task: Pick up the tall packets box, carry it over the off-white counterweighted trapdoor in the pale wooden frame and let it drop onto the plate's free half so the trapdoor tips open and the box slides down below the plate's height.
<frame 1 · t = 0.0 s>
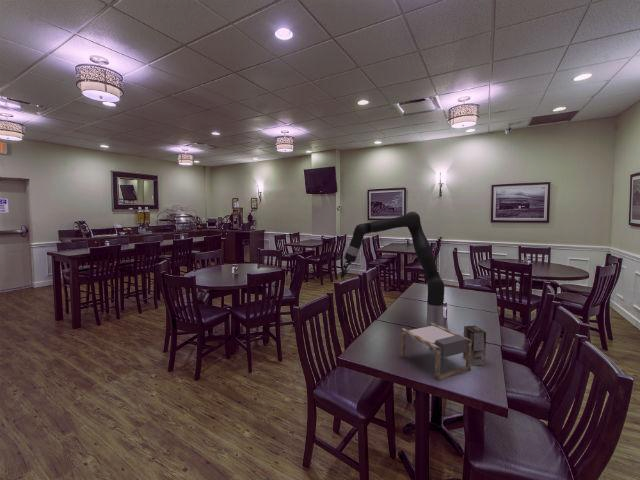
hand: (343, 276, 198), 31 cm above the table, tool tilted 20°, fingers open, 8 cm apart
trapdoor frame: (431, 361, 148), on the table
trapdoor: (437, 338, 144), point 13 cm above the table, hinge at 0.0°
coffee box: (473, 361, 149), on the table
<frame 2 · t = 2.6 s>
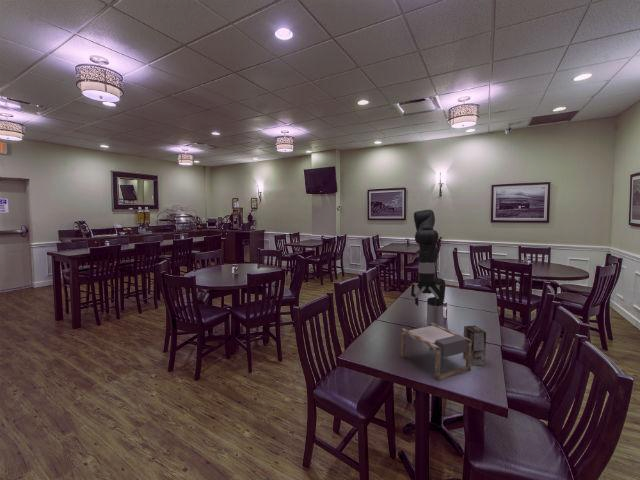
hand: (426, 306, 144), 28 cm above the table, tool pointing down, fingers open, 8 cm apart
nothing on the table moved.
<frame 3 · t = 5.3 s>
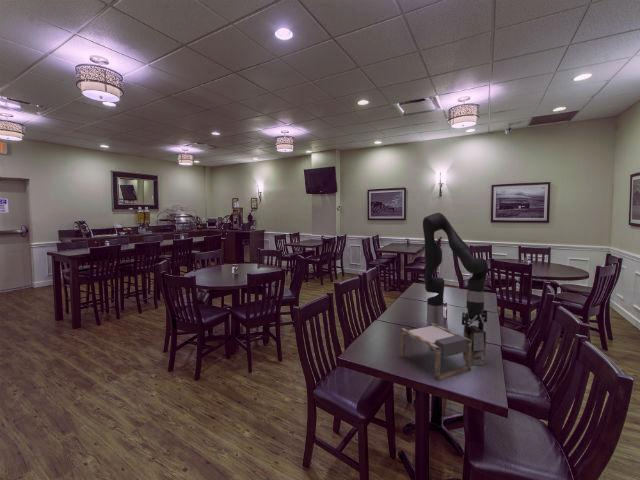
hand: (474, 332, 147), 14 cm above the table, tool pointing down, fingers open, 8 cm apart
nothing on the table moved.
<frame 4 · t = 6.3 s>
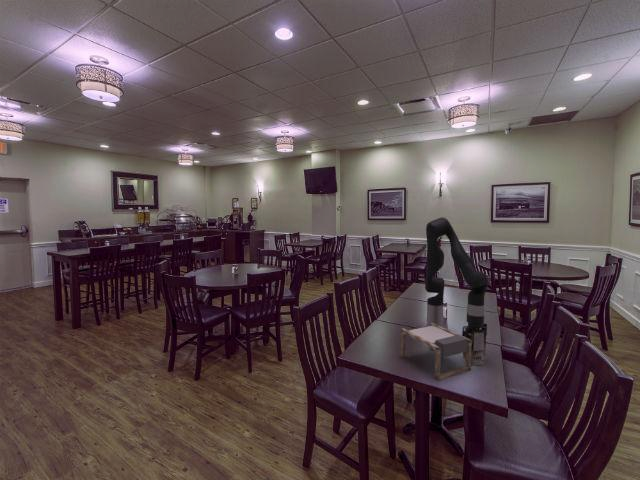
hand: (474, 345, 148), 8 cm above the table, tool pointing down, fingers closed on coffee box, 7 cm apart
coffee box: (473, 361, 149), on the table, touching gripper
everything else where it was.
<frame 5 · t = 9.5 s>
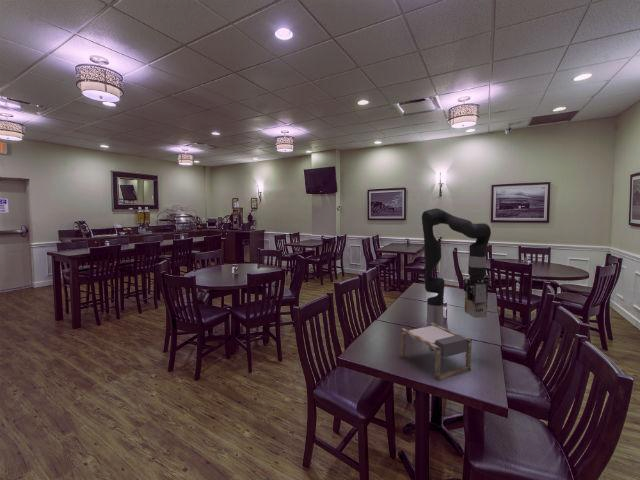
hand: (475, 299, 146), 31 cm above the table, tool pointing down, fingers closed on coffee box, 7 cm apart
coffee box: (475, 314, 147), point 23 cm above the table, touching gripper
everything else where it was.
when the fingers open (24 cm above the table, at t = 12.8 s): coffee box drops 5 cm, resting on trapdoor.
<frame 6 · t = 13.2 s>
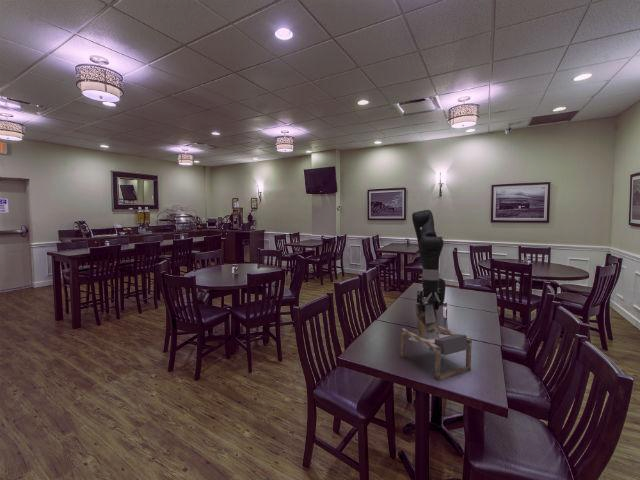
hand: (429, 310, 148), 25 cm above the table, tool pointing down, fingers open, 8 cm apart
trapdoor: (437, 341, 144), point 11 cm above the table, hinge at -13.8°, touching coffee box
coffee box: (429, 337, 149), point 11 cm above the table, touching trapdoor
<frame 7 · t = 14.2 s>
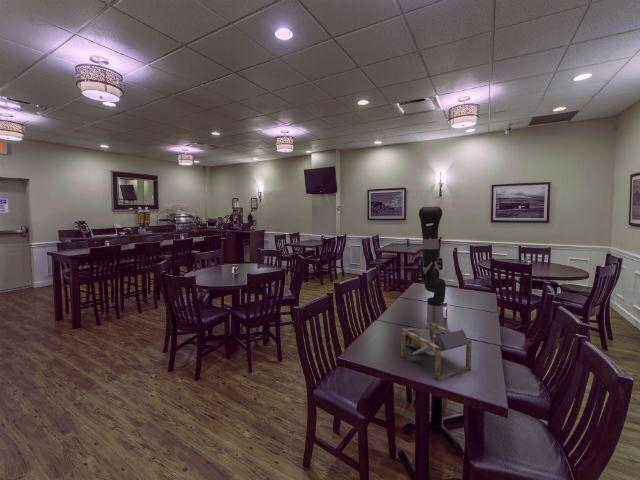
hand: (430, 279, 151), 39 cm above the table, tool pointing down, fingers open, 8 cm apart
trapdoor: (439, 346, 143), point 10 cm above the table, hinge at -39.0°, touching coffee box
coffee box: (426, 339, 152), point 9 cm above the table, touching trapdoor
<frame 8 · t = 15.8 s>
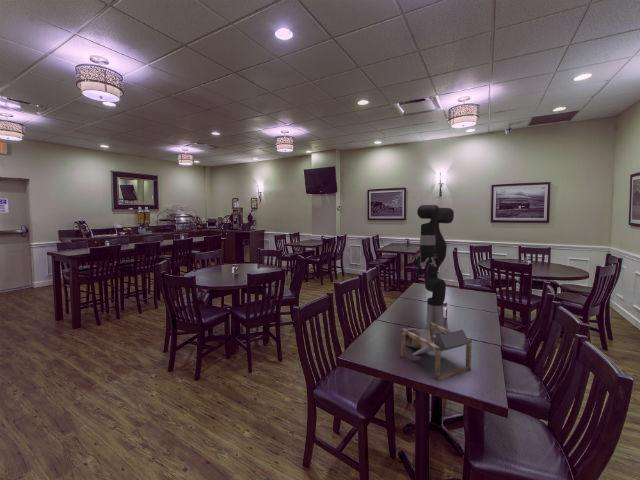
hand: (426, 274, 158), 40 cm above the table, tool pointing down, fingers open, 8 cm apart
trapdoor: (439, 346, 143), point 10 cm above the table, hinge at -39.8°, touching coffee box
everything else where it was.
at the end: coffee box point 8.7 cm above the table; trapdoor at -40° (first picture: +0°) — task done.
